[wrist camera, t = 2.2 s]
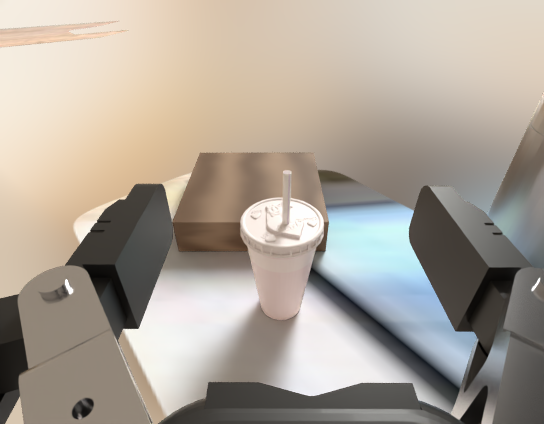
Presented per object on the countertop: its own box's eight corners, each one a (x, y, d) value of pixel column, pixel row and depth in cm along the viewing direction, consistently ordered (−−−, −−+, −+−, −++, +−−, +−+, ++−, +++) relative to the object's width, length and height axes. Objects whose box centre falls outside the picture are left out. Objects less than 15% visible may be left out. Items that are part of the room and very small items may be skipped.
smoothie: (266, 346, 27) (263, 205, 19) (234, 292, 32) (220, 160, 24) (329, 314, 30) (351, 177, 22) (291, 268, 34) (297, 141, 26)
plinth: (311, 177, 49) (313, 152, 47) (325, 251, 36) (328, 221, 34) (203, 177, 49) (200, 152, 47) (178, 251, 36) (172, 222, 34)
